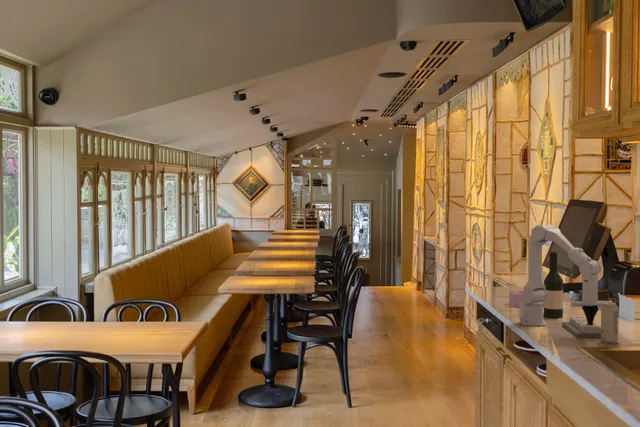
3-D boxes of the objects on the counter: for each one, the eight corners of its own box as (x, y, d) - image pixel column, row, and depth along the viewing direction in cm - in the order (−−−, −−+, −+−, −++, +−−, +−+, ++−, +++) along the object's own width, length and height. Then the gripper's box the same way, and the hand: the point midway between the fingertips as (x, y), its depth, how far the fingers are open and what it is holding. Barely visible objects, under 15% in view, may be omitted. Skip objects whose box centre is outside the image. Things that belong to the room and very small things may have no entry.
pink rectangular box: (549, 304, 337) (549, 290, 336) (554, 308, 324) (554, 294, 324) (508, 303, 340) (508, 290, 340) (511, 308, 328) (511, 294, 327)
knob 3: (586, 332, 266) (586, 325, 266) (583, 329, 270) (583, 323, 270) (596, 332, 266) (596, 325, 266) (593, 329, 270) (593, 323, 270)
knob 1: (576, 324, 280) (576, 318, 280) (573, 322, 284) (573, 316, 284) (585, 324, 280) (585, 318, 280) (583, 322, 284) (583, 316, 284)
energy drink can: (603, 339, 261) (603, 301, 260) (620, 341, 257) (620, 303, 257) (598, 342, 256) (599, 303, 256) (615, 344, 253) (615, 305, 252)
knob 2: (581, 328, 273) (581, 321, 273) (578, 326, 277) (578, 319, 277) (591, 328, 273) (591, 321, 273) (588, 326, 277) (588, 319, 277)
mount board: (577, 337, 265) (577, 327, 265) (562, 325, 287) (562, 316, 286) (608, 337, 264) (608, 327, 264) (591, 325, 286) (591, 316, 285)
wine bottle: (564, 318, 301) (564, 252, 299) (545, 318, 302) (545, 252, 301) (561, 315, 309) (561, 250, 307) (542, 314, 310) (542, 250, 309)
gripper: (574, 292, 264) (574, 326, 265) (612, 292, 263) (612, 326, 263) (569, 289, 271) (569, 322, 272) (606, 289, 270) (606, 323, 270)
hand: (589, 324), depth 268 cm, fingers closed, pressing on knob 3
